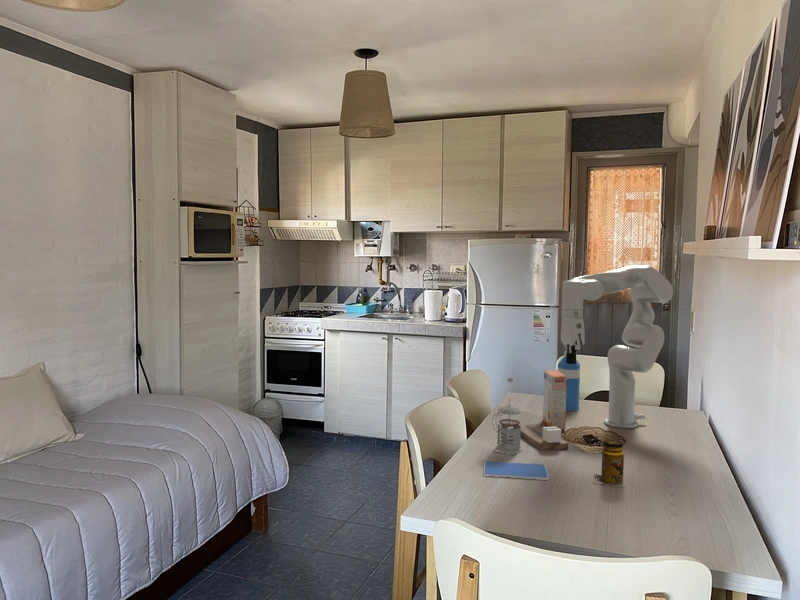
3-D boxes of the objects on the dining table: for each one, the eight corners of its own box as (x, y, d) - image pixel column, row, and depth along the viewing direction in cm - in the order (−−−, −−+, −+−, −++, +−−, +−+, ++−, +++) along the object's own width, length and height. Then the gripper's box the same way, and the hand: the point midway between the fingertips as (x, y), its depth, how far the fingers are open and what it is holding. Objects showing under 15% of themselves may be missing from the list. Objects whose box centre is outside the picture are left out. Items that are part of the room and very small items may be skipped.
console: (537, 429, 229) (537, 423, 229) (568, 448, 206) (568, 442, 205) (513, 430, 227) (513, 425, 227) (541, 450, 203) (541, 444, 203)
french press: (511, 456, 197) (512, 381, 196) (484, 447, 206) (485, 376, 204) (529, 450, 204) (530, 378, 202) (502, 442, 212) (503, 373, 211)
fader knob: (555, 438, 209) (555, 426, 209) (561, 441, 205) (561, 429, 205) (542, 439, 208) (542, 427, 208) (547, 442, 204) (548, 430, 204)
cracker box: (566, 430, 228) (567, 376, 226) (550, 430, 228) (551, 376, 226) (557, 420, 242) (558, 369, 240) (542, 420, 242) (543, 369, 240)
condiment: (624, 487, 171) (626, 446, 170) (594, 483, 174) (595, 443, 173) (623, 478, 178) (624, 439, 177) (593, 475, 180) (594, 436, 180)
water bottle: (558, 410, 258) (559, 353, 257) (555, 405, 268) (557, 350, 266) (580, 411, 257) (581, 353, 255) (577, 405, 266) (578, 350, 264)
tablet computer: (483, 478, 179) (483, 474, 179) (483, 464, 191) (484, 460, 191) (549, 482, 176) (549, 478, 176) (545, 468, 188) (545, 463, 188)
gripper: (592, 315, 211) (591, 366, 213) (571, 312, 226) (570, 359, 227) (573, 316, 210) (571, 367, 211) (553, 312, 224) (552, 360, 226)
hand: (571, 363), depth 219 cm, fingers closed
